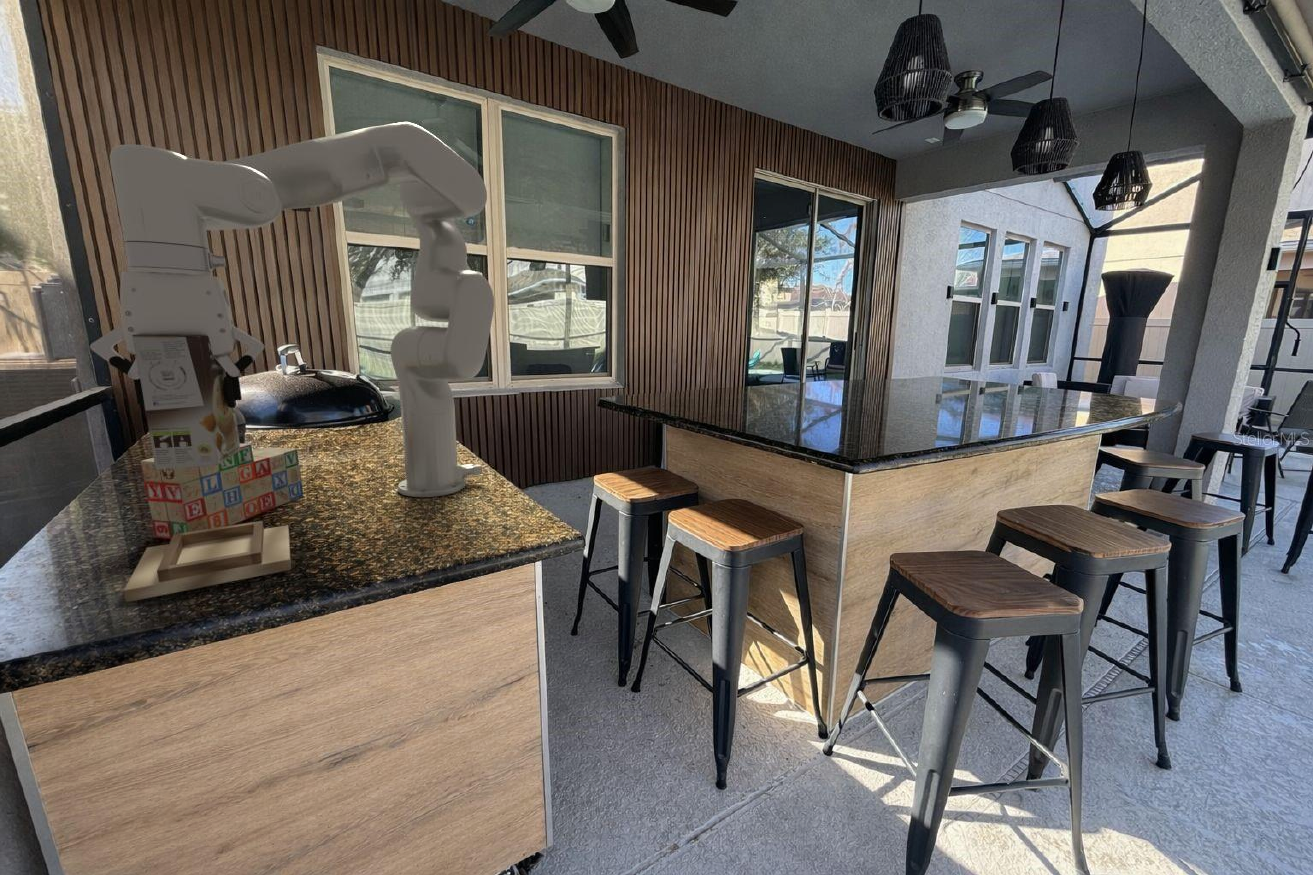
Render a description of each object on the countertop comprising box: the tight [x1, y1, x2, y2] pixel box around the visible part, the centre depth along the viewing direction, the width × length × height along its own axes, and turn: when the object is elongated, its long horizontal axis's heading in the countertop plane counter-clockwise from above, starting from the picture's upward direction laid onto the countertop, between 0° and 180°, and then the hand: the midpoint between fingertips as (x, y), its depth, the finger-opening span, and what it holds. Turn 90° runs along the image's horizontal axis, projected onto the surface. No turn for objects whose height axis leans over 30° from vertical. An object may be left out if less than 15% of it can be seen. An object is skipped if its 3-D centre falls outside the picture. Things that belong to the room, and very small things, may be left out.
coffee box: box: [132, 334, 240, 469], centre depth 67 cm, size 9×6×16 cm
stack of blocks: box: [140, 443, 304, 540], centre depth 88 cm, size 21×6×12 cm, turn 171°
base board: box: [123, 520, 292, 603], centre depth 72 cm, size 16×14×3 cm
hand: (193, 407), depth 68 cm, fingers closed on coffee box, 7 cm apart
